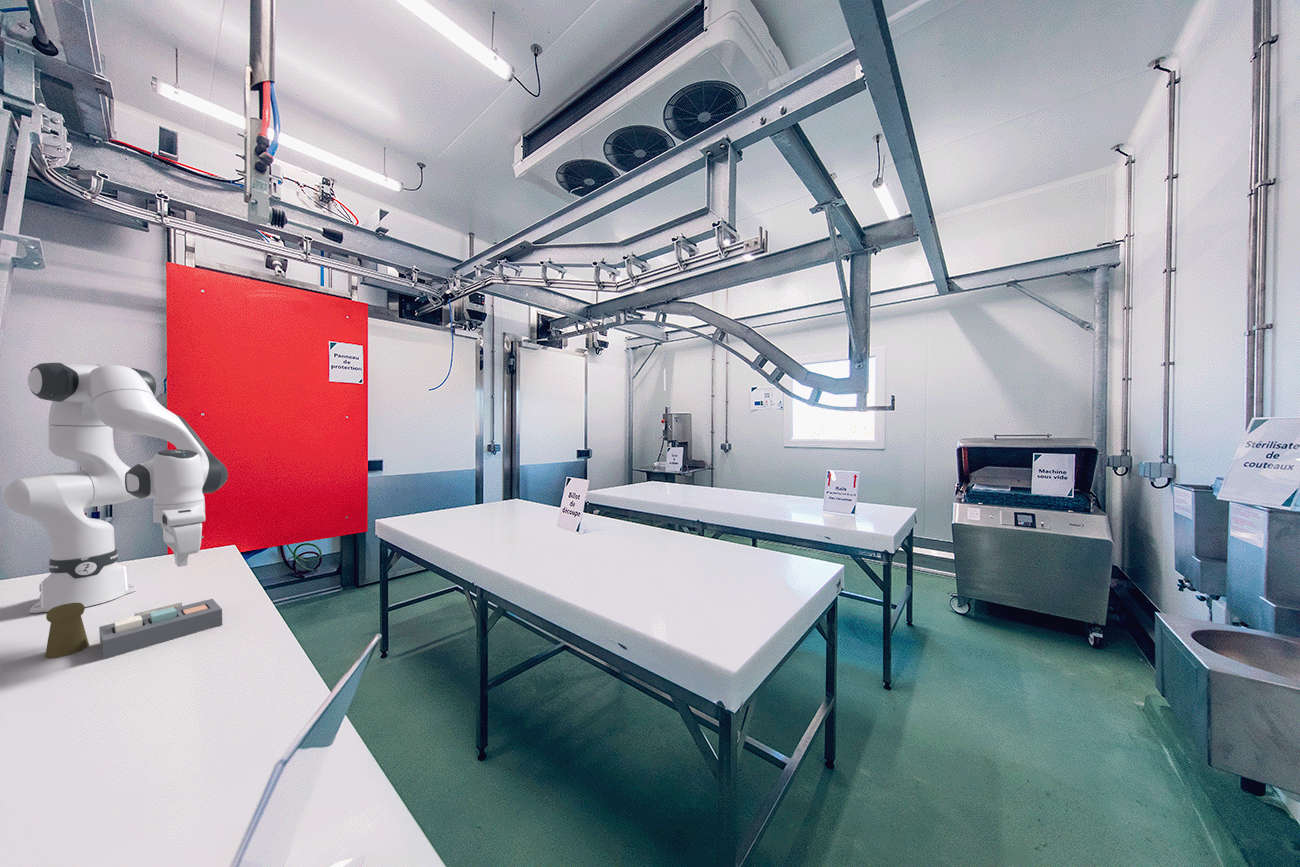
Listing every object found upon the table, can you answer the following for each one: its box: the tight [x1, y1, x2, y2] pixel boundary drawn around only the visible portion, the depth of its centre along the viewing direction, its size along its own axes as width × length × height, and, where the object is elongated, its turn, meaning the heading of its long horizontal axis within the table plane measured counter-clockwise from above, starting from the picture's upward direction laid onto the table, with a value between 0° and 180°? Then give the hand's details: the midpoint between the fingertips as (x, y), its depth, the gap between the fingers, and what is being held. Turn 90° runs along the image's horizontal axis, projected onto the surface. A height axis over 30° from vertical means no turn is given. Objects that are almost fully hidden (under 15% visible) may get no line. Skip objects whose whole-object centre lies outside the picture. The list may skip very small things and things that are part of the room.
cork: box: [44, 603, 90, 659], centre depth 96 cm, size 6×6×11 cm
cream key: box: [113, 615, 143, 633], centre depth 99 cm, size 4×4×3 cm
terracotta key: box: [183, 604, 208, 615], centre depth 109 cm, size 4×4×3 cm
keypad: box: [98, 598, 223, 660], centre depth 105 cm, size 13×19×5 cm
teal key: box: [150, 607, 177, 624], centre depth 104 cm, size 4×4×3 cm
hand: (181, 565), depth 106 cm, fingers closed
